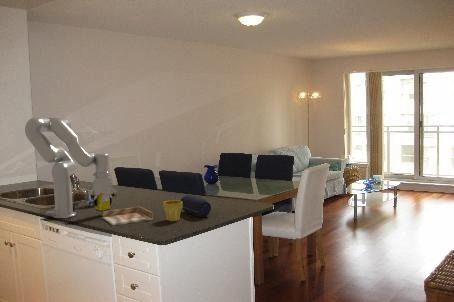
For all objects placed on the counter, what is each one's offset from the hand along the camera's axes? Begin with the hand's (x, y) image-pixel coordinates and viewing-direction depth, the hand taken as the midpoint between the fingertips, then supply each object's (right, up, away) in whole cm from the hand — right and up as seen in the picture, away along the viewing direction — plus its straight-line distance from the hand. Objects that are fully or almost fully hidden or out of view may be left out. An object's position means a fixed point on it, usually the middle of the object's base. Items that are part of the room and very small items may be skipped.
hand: (102, 205), depth 257 cm
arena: (+17, -6, -10) cm, 21 cm away
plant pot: (+43, -6, -15) cm, 45 cm away
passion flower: (-14, -4, +30) cm, 33 cm away
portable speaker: (+54, -5, -3) cm, 54 cm away
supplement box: (0, -3, 0) cm, 3 cm away
